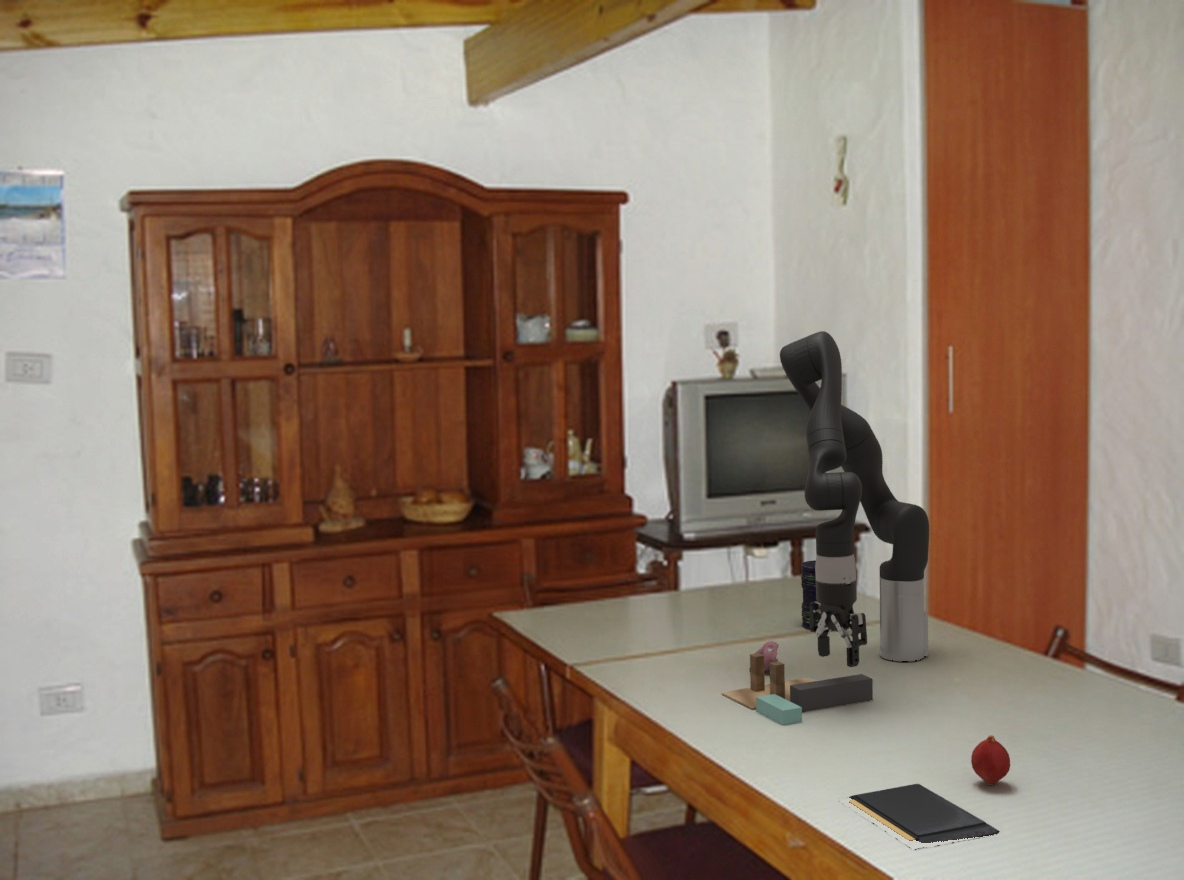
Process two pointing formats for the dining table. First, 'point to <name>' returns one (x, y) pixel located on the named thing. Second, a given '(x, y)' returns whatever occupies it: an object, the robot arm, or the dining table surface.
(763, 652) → the video game controller
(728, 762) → the dining table surface
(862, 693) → the bar
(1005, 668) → the dining table surface
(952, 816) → the black book
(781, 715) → the block
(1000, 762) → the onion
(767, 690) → the board
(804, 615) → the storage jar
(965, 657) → the dining table surface
